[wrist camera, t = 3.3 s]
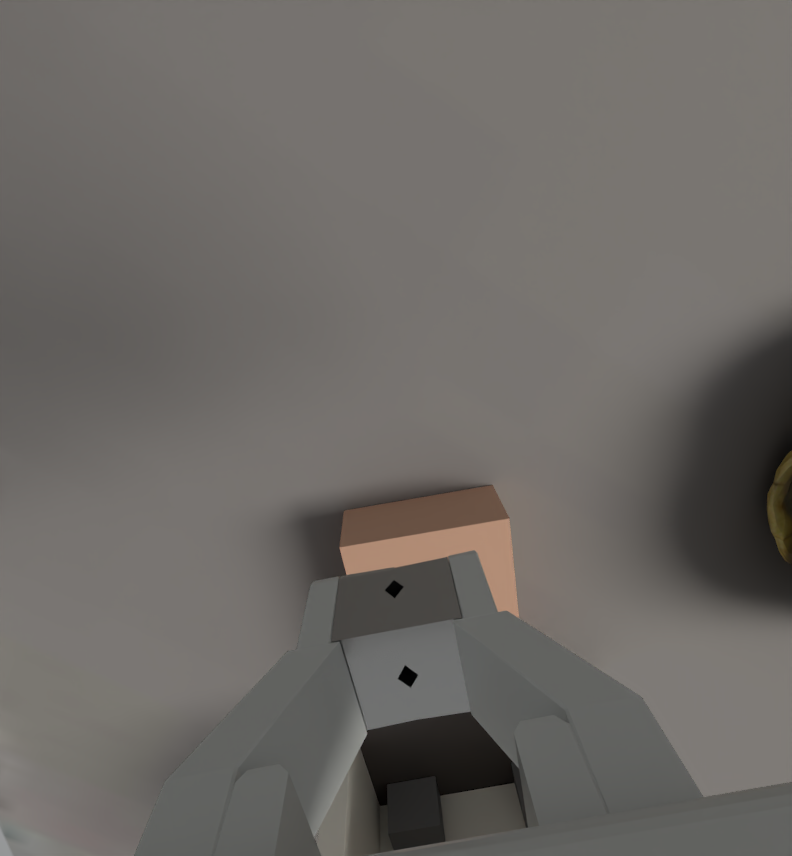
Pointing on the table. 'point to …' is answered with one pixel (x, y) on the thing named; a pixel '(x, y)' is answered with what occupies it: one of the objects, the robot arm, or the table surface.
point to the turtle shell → (782, 508)
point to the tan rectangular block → (434, 536)
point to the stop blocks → (423, 811)
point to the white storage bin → (368, 821)
